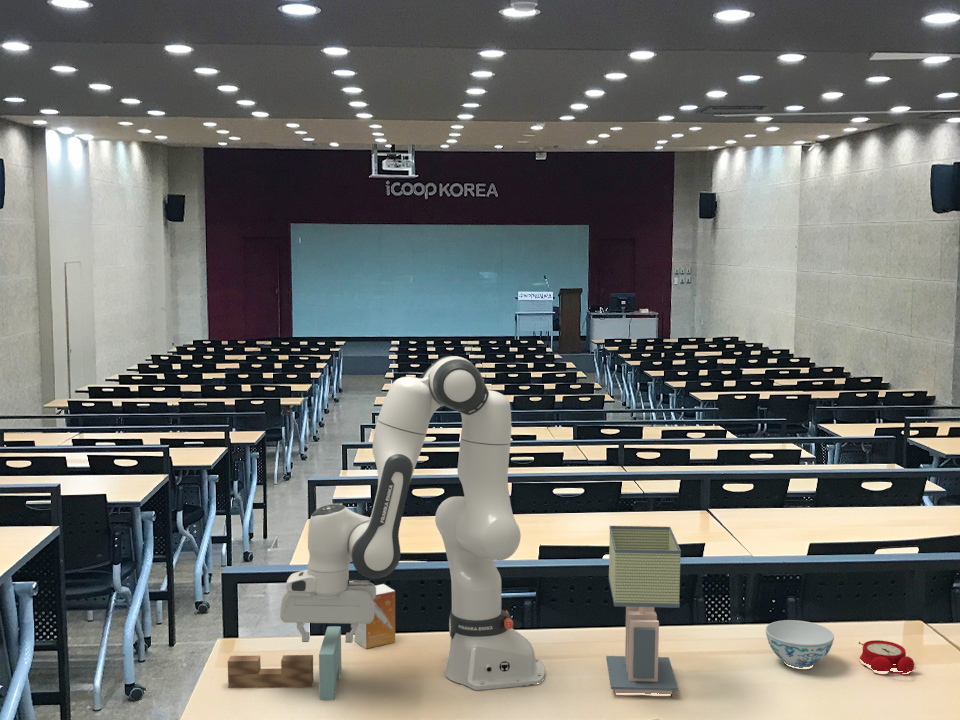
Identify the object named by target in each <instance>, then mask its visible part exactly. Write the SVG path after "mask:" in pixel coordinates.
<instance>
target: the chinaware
mask: <svg viewBox="0 0 960 720" xmlns="http://www.w3.org/2000/svg"><path fill="white" fill-rule="evenodd" d="M765 634H766V639H767V643H768V644H769V646H770V648H771V650H772V652H773V653H774V654H775V655H776V656H777V657H778V659H780V660H781V661H782V662H783V661H784V662H785V663H786V664H788V665H791V666H794V667H799V668H803V667H810V666H812V665H814V666H815V665H816V664H818V663H819V662H820V661H822V660H823V659H825V657H826V656H827V655H828V654H829V652H830V650H831V649H832V645H833V644H834V643H833V642H834V640H835V634H834V632H833V631H832V630H831V629H829V628H828V627H826V626H824V625H821V624H818V623H815V622H810V621H806V620H805V621H804V620H796V619H795V620H794V619H793V620H792V619H791V620H790V619H787V620H786V619H784V620H778V621H773V622H771V623H769V624H767V625H766V626H765Z"/></svg>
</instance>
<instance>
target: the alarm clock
mask: <svg viewBox="0 0 960 720" xmlns="http://www.w3.org/2000/svg"><path fill="white" fill-rule="evenodd" d="M858 645H862V653H861V654H860V656H859V658H860V659H861V660H862V661H863V662H864V663H866V664H869V665H871V668H872V669H873V670H877V671H889V672H892V673H891V674H900V673H907V672H909V671H912V670H913V671H914V669H915V661H914V659H913V658H911V657H910V656H907V655H906V654H907V652H906V649H905V648H904V646H902V645H901V644H898V643H895V642H892V641H889V640H888V641H887V640H879V639H878V640H875V639H874V640H868V641H865V642H864V643H861V642H860V641H859V642H858ZM893 664H896V665H893ZM891 668H897V670H898V671H903V672H893V671H890V669H891ZM872 669H871V670H872ZM873 670H872V671H873ZM913 671H912V672H913Z"/></svg>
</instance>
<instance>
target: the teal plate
mask: <svg viewBox="0 0 960 720" xmlns="http://www.w3.org/2000/svg"><path fill="white" fill-rule="evenodd" d="M318 672H319V673H318V675H319V676H318V679H319V684H318V685H319V701H324V700H325V701H330V700H331V701H332V700H335V696H336V692H337V689H338V688H337V686H338V685H337V684H338V683H337V681H338V680H339V679H340V676H341V673H342V627H341V626H337V625H335V626H334V625H333V626H331V625H330V626H327V627H326V630H325V633H324V637H323V639H322V644H321V646H320V650H319V653H318Z"/></svg>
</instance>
